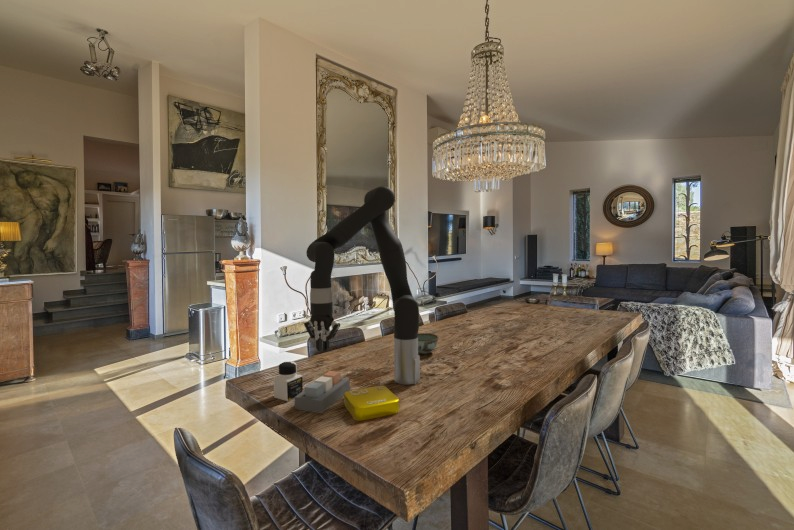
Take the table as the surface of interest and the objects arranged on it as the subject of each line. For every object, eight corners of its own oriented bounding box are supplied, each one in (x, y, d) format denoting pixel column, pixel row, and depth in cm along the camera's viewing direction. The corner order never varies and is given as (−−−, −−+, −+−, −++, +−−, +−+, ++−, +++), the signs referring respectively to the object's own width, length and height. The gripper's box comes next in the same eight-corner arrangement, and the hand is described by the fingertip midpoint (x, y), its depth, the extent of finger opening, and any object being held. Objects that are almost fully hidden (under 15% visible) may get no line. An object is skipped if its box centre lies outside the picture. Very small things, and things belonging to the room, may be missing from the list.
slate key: (323, 393, 129) (323, 383, 129) (316, 399, 125) (316, 388, 125) (312, 392, 131) (311, 382, 130) (305, 397, 126) (304, 387, 126)
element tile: (356, 423, 117) (356, 407, 116) (342, 404, 130) (342, 390, 130) (401, 413, 123) (401, 398, 122) (383, 396, 136) (383, 383, 136)
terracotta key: (340, 381, 140) (340, 372, 140) (334, 385, 136) (334, 376, 136) (329, 380, 142) (329, 370, 142) (323, 384, 138) (323, 374, 138)
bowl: (443, 351, 189) (443, 335, 188) (430, 358, 178) (430, 341, 177) (418, 347, 196) (418, 331, 196) (405, 354, 185) (404, 337, 184)
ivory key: (332, 387, 135) (332, 377, 135) (326, 392, 131) (325, 382, 130) (321, 386, 136) (321, 376, 136) (314, 390, 132) (314, 380, 132)
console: (349, 389, 141) (349, 379, 141) (321, 413, 123) (321, 400, 122) (325, 386, 145) (325, 376, 145) (294, 408, 126) (294, 397, 126)
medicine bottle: (287, 402, 132) (286, 367, 131) (273, 397, 135) (272, 364, 134) (303, 394, 138) (302, 361, 137) (289, 390, 141) (288, 358, 141)
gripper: (344, 299, 133) (345, 349, 134) (309, 298, 137) (311, 346, 138) (334, 303, 126) (335, 355, 127) (297, 301, 130) (299, 352, 131)
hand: (322, 350), depth 133 cm, fingers closed
